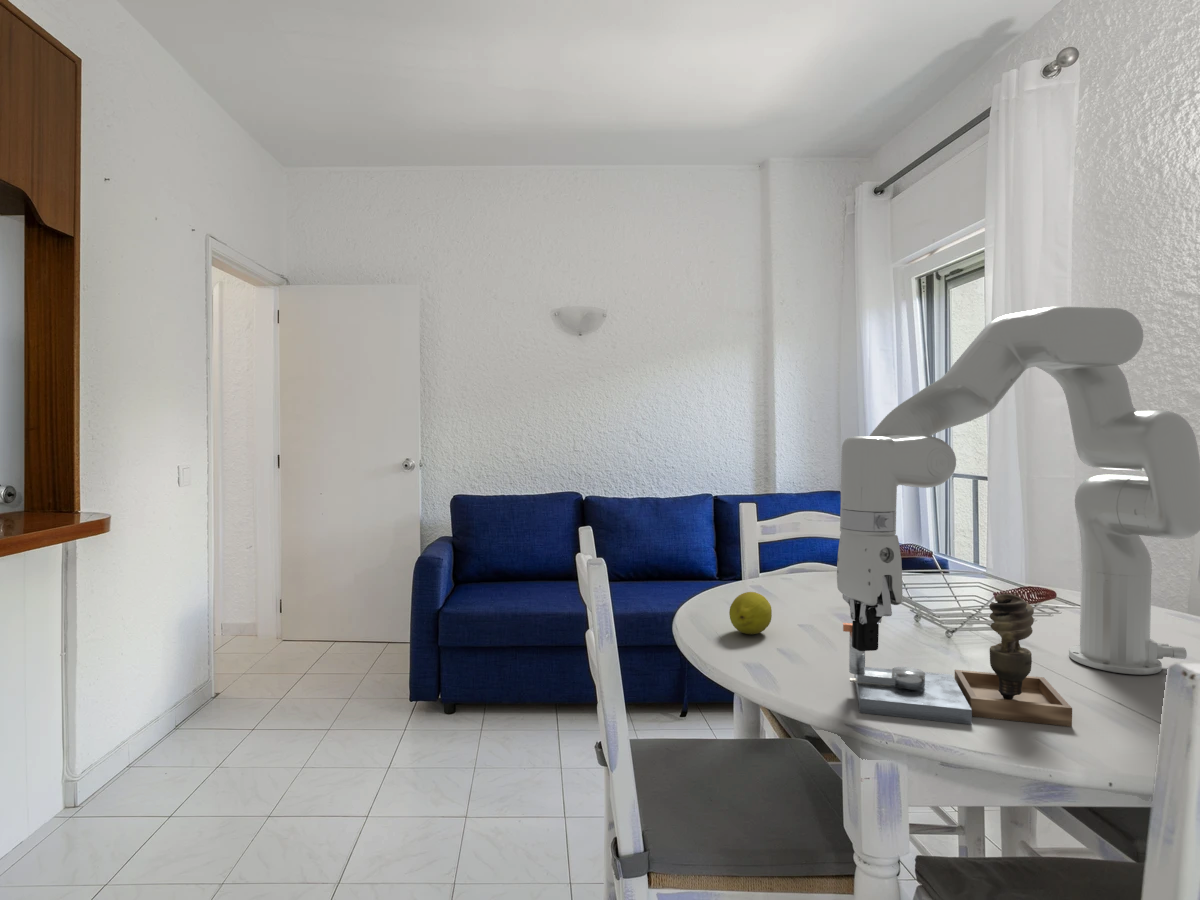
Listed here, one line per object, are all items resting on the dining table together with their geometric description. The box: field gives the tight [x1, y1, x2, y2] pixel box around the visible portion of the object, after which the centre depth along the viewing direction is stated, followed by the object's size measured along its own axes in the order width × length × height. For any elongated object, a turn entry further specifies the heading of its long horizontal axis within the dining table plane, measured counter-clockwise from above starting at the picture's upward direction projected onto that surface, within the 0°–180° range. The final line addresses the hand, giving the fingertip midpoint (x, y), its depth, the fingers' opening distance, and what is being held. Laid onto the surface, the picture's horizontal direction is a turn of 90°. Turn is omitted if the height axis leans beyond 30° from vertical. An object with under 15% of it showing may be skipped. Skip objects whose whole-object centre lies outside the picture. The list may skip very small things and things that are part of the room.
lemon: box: [728, 591, 773, 635], centre depth 136 cm, size 11×8×8 cm
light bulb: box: [989, 593, 1035, 699], centre depth 100 cm, size 6×6×15 cm
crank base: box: [849, 666, 973, 726], centre depth 103 cm, size 15×14×2 cm
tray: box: [954, 669, 1073, 728], centre depth 100 cm, size 12×12×2 cm
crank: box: [842, 622, 925, 690], centre depth 103 cm, size 11×4×8 cm, turn 72°
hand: (864, 648), depth 102 cm, fingers closed
